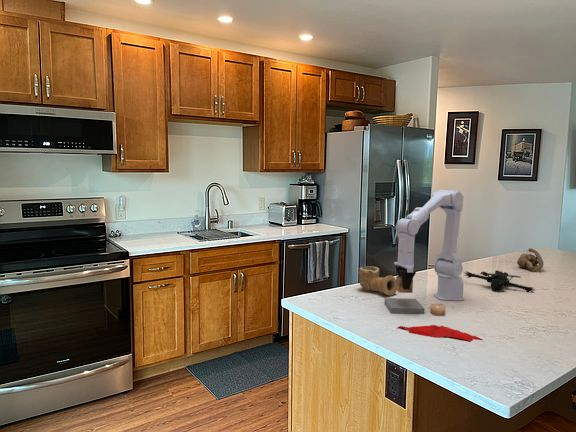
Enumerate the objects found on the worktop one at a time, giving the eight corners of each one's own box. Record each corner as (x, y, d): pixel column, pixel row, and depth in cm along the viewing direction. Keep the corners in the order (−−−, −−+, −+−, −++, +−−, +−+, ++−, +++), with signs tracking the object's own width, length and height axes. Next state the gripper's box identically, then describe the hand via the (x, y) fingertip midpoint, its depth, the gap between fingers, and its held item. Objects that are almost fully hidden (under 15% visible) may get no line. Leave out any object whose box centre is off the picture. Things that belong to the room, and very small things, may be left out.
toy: (468, 272, 216) (459, 283, 191) (471, 259, 215) (463, 268, 190) (533, 289, 203) (532, 303, 177) (536, 274, 202) (536, 286, 176)
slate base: (415, 303, 166) (415, 298, 166) (424, 313, 154) (424, 308, 154) (384, 303, 166) (384, 298, 166) (390, 313, 155) (391, 307, 154)
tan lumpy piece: (520, 273, 234) (539, 274, 219) (508, 263, 234) (526, 264, 219) (532, 255, 236) (552, 255, 221) (520, 246, 236) (539, 245, 221)
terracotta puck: (442, 311, 158) (442, 303, 157) (446, 316, 153) (447, 308, 152) (428, 311, 158) (428, 303, 157) (432, 315, 153) (432, 307, 152)
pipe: (386, 298, 172) (387, 274, 171) (353, 290, 184) (354, 267, 183) (398, 294, 179) (399, 271, 178) (365, 286, 190) (366, 264, 189)
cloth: (487, 336, 135) (487, 330, 135) (480, 352, 124) (480, 344, 124) (405, 320, 149) (406, 314, 149) (392, 333, 138) (393, 326, 137)
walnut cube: (408, 289, 162) (409, 276, 162) (412, 292, 157) (413, 279, 157) (395, 288, 162) (396, 275, 162) (398, 292, 157) (399, 279, 157)
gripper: (391, 247, 165) (389, 281, 167) (399, 254, 151) (398, 292, 152) (409, 247, 165) (407, 282, 167) (419, 255, 151) (418, 292, 152)
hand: (404, 287), depth 159 cm, fingers closed on walnut cube, 5 cm apart
